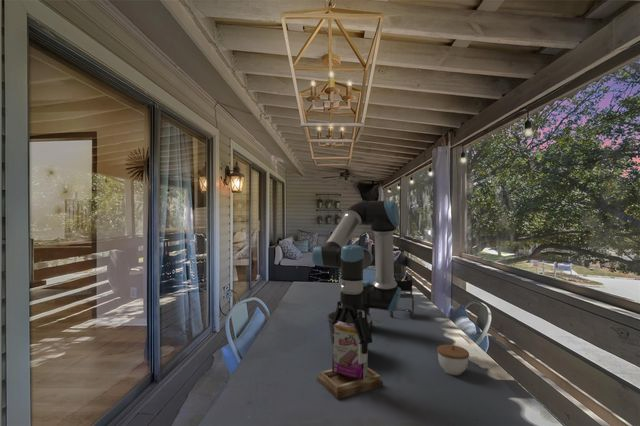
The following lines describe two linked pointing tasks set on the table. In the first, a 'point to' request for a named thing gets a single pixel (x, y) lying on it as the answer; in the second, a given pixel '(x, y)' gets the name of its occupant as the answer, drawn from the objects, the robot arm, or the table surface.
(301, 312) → the table surface
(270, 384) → the table surface
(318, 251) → the robot arm
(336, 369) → the candy bar box
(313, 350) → the table surface
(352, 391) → the wooden tray
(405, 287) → the chair
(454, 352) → the lidded jar
